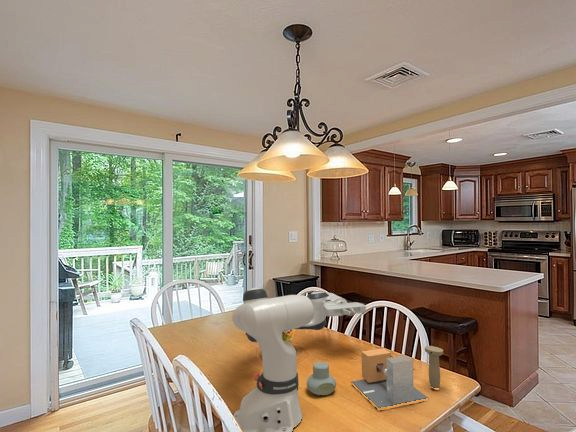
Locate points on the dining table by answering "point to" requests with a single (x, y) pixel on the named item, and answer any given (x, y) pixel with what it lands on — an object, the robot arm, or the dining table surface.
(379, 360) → the orange block
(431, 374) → the handle
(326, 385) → the air freshener
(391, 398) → the grey block with rod
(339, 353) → the dining table surface
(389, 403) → the base board
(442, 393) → the dining table surface
